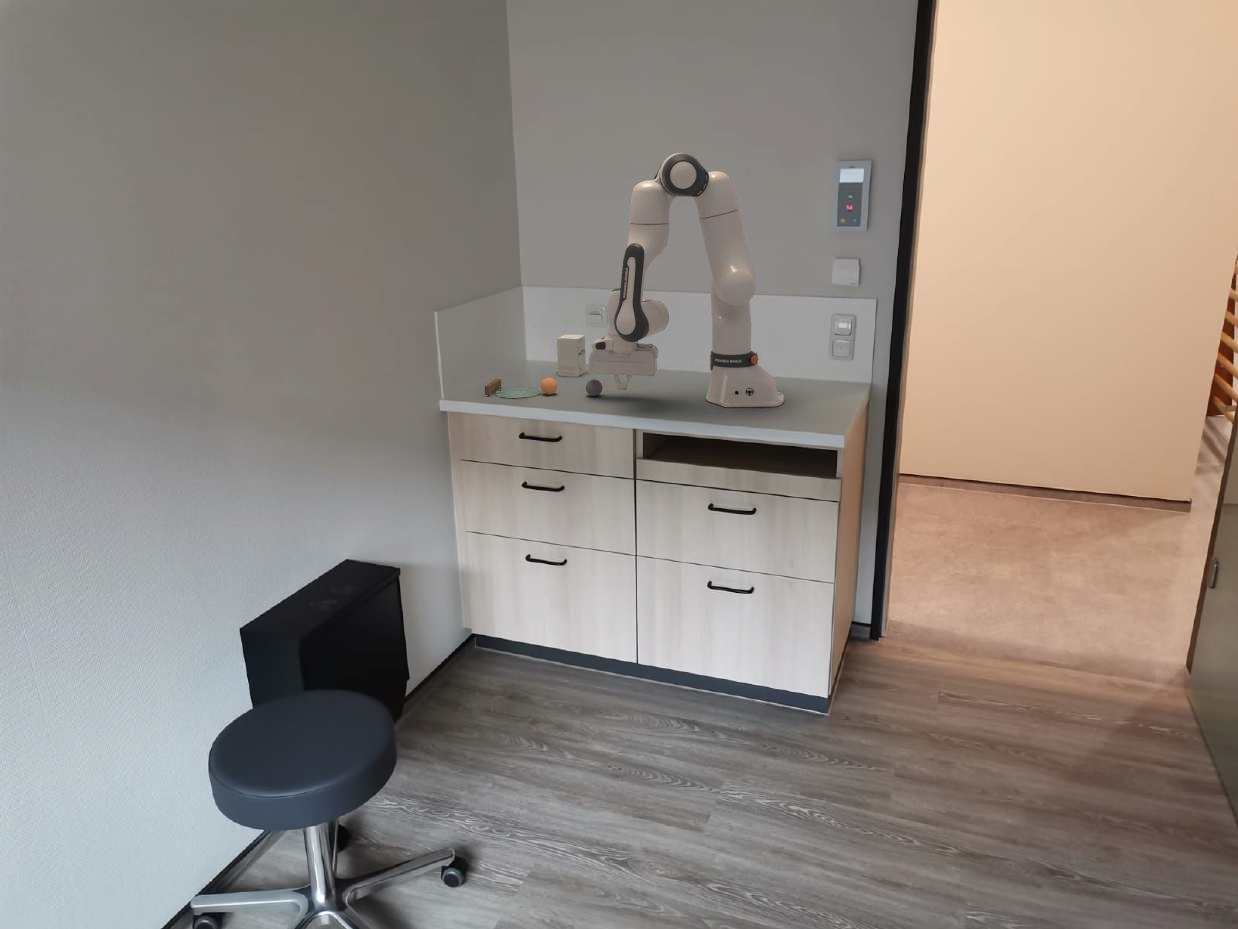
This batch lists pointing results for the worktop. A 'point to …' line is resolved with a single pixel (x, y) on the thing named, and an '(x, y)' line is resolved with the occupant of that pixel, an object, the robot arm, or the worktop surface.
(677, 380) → the worktop surface
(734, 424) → the worktop surface
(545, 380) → the object ball
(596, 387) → the dark gray ball
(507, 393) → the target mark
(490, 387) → the stopper bar
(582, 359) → the supplement box
